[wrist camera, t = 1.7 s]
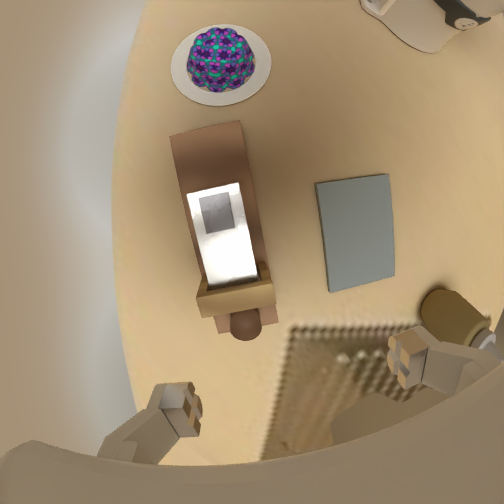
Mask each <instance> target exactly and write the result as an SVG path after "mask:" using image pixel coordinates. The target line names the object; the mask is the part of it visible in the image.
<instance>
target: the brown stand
mask: <svg viewBox="0 0 504 504" xmlns="http://www.w3.org/2000/svg"><path fill="white" fill-rule="evenodd" d="M169 137H170V142H171V147H172V152H173V157H174V162H175V167H176V172H177V176H178V181H179V186H180V190H181V195H182V199H183V204H184V208H185V212H186V216H187V221H188V225H189V229H190V233H191V237H192V241H193V245H194V249H195V253H196V256H197V260H198V264H199V268H200V271H201V275H202V280H201V283H200V286H199V289H198V293H197V296H196V300H197V303H198V307H199V310H200V313H201V316H202V318H205V317H211V316H213V317H214V320H215V324H216V327H217V330H218V333H219V334H220V333H226V332H231V334H232V335H233V336H234V337H235V338H237V339H239V340H242V341H249V340H252V339H255V338H256V337H257V336H258V335H259V334H260V332H261V329H262V326H264V325H269V324H274V323H278V316H277V310H276V305H275V304H276V300H275V294H274V288H273V283H272V280H271V277H270V272H269V267H268V261H267V256H266V251H265V245H264V240H263V235H262V230H261V224H260V219H259V214H258V209H257V204H256V199H255V194H254V189H253V183H252V178H251V173H250V168H249V163H248V158H247V154H246V149H245V144H244V139H243V134H242V129H241V124H240V120H237V121H232V122H227V123H222V124H218V125H213V126H209V127H204V128H200V129H196V130H192V131H188V132H184V133H180V134H176V135H173V136H169ZM234 182H239V187H240V192H241V197H242V202H243V207H244V212H245V217H246V222H247V226H248V231H249V236H250V241H251V246H252V251H253V256H254V261H255V266H256V271H257V276H258V282H253V283H248V284H243V285H238V286H232V287H227V288H222V289H217V290H212V291H211V290H210V286H209V282H208V279H207V275H206V271H205V267H204V264H203V260H202V256H201V252H200V248H199V244H198V240H197V236H196V232H195V228H194V224H193V219H192V215H191V211H190V207H189V202H188V198H187V194H189V193H191V192H194V191H198V190H202V189H206V188H211V187H215V186H220V185H224V184H229V183H234Z"/></svg>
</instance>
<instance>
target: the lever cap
mask: <svg viewBox="0 0 504 504" xmlns="http://www.w3.org/2000/svg"><path fill="white" fill-rule="evenodd" d="M187 198H188V202H189V207H190V211H191V215H192V219H193V224H194V228H195V232H196V236H197V240H198V244H199V248H200V252H201V256H202V260H203V264H204V267H205V271H206V275H207V279H208V282H209V286H210V290H211V291H212V290H217V289H222V288H227V287H232V286H238V285H243V284H248V283H253V282H258V276H257V271H256V266H255V261H254V256H253V251H252V246H251V241H250V236H249V231H248V226H247V222H246V217H245V212H244V207H243V202H242V197H241V192H240V187H239V182H234V183H229V184H224V185H220V186H215V187H211V188H206V189H202V190H198V191H194V192H191V193H189V194H187Z"/></svg>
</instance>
